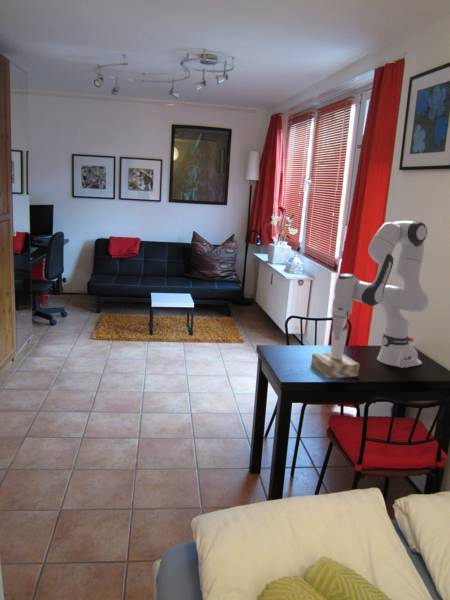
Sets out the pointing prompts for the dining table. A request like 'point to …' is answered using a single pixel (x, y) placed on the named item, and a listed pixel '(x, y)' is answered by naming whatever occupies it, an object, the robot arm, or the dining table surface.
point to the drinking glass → (338, 345)
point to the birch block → (334, 366)
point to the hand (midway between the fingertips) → (338, 337)
